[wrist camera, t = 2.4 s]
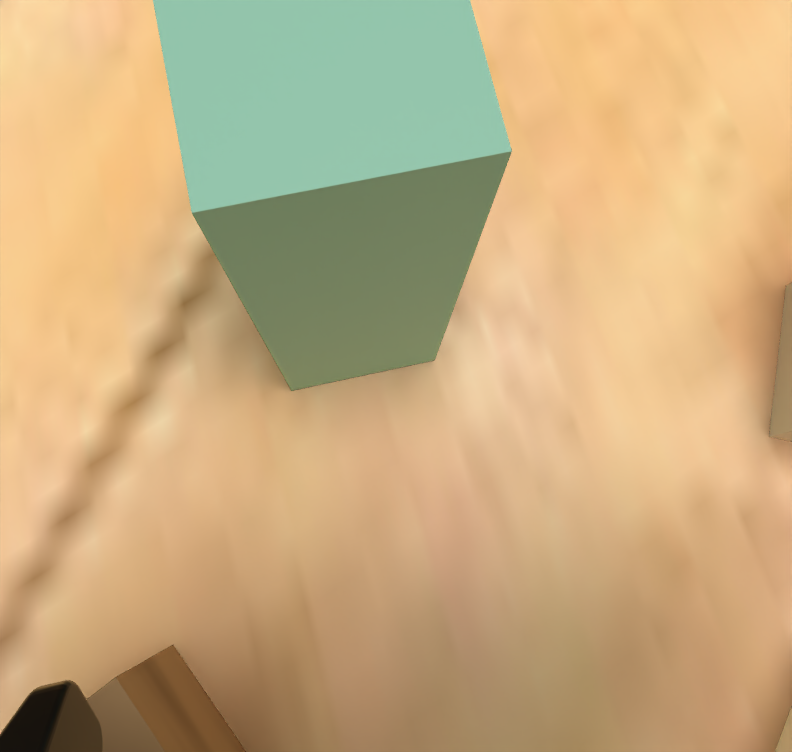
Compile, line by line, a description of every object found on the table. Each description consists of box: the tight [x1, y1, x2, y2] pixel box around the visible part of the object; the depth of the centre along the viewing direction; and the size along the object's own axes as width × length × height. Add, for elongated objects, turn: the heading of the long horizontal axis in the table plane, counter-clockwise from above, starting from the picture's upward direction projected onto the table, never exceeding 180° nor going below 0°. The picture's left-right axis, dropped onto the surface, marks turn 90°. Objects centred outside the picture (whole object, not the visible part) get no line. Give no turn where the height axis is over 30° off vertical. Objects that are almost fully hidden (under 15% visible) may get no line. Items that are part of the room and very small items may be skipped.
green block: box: [153, 0, 512, 391], centre depth 17 cm, size 4×4×13 cm
